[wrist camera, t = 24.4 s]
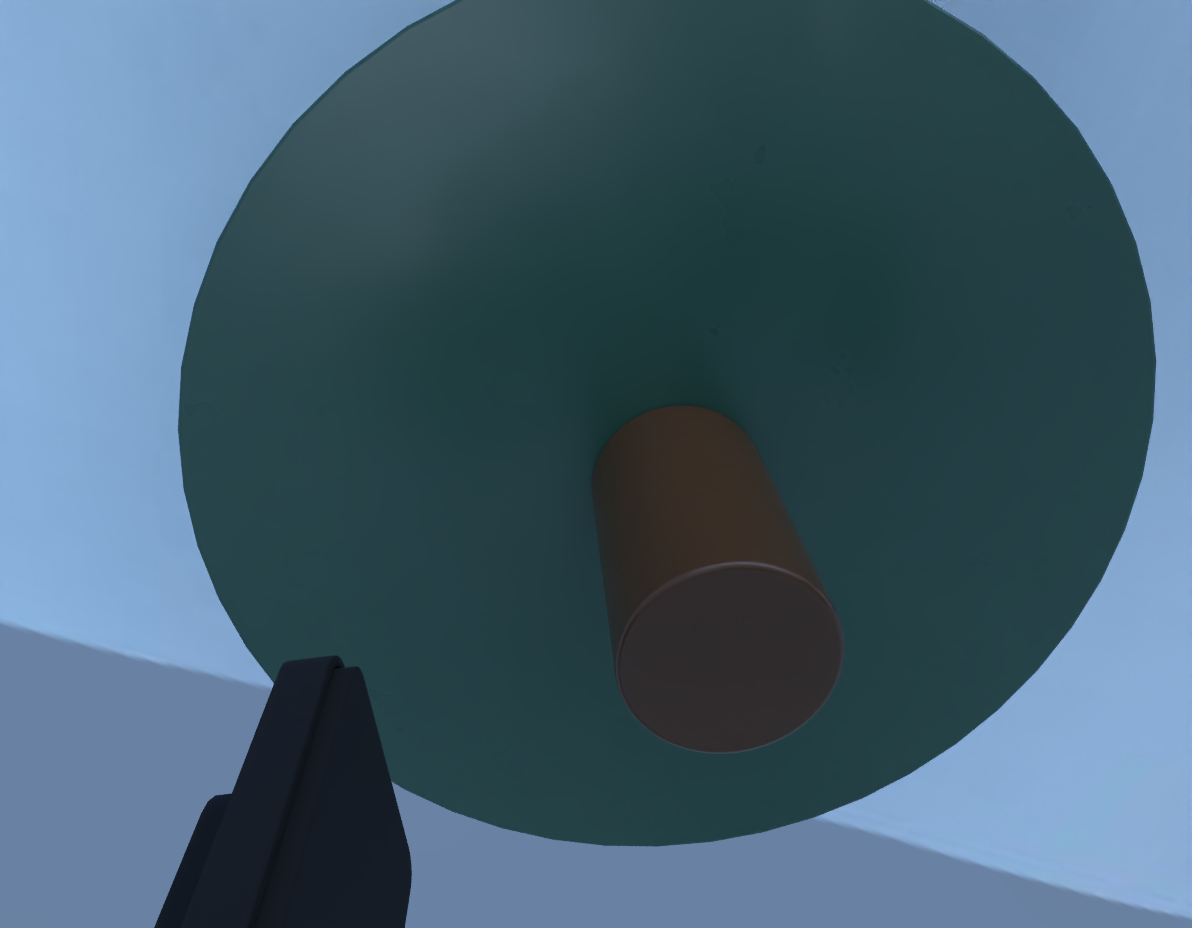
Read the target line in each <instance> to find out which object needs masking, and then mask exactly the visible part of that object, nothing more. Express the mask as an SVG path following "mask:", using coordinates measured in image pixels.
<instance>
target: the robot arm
mask: <svg viewBox="0 0 1192 928" xmlns="http://www.w3.org/2000/svg"><path fill="white" fill-rule="evenodd" d="M411 875H412V871H411V858H410V852H409V847H408V843H407V839H406V836H405V832H404V828H403V825H402V820H401V817H400V813H399V809H398V806H397V801H396V797H395V794H394V790H393V786H392V782H391V778H390V775H389V771H388V767H387V763H386V759H385V756H384V752H383V748H382V744H381V740H380V737H379V733H378V729H377V725H376V721H375V718H374V714H373V710H372V706H371V702H370V699H369V695H368V691H367V687H366V683H365V680H364V676H363V673H362V671H361V669H360V668H359V667H357V666H356V667H347V668H345V666H344V663H343V661H342V659H341V658H340V657H339V656H337V655H333V656H325V657H316V658H308V659H300V660H291V661H286V662H284V663H283V664H282V666H281V668H280V670H279V672H278V675H277V678H276V680H275V683H274V685H273V688H272V691H271V693H270V696H269V698H268V702H267V704H266V706H265V709H264V711H263V714H262V717H261V719H260V722H259V724H258V727H257V730H256V732H255V735H254V738H253V740H252V743H251V745H250V748H249V751H248V753H247V756H246V758H245V761H244V764H243V766H242V769H241V771H240V774H239V777H238V779H237V782H236V785H235V787H234V790H233V792H232V794H224V795H216V796H214V797H213V798H212V799H210V800H209V801H208V802H207V804H206V806H205V808H204V809H203V811H202V813H201V815H200V818H199V820H198V823H197V825H196V827H195V830H194V832H193V835H192V837H191V840H190V842H189V844H188V847H187V849H186V852H185V854H184V857H183V859H182V862H181V864H180V867H179V869H178V871H177V874H176V876H175V879H174V881H173V884H172V886H171V888H170V891H169V893H168V896H167V898H166V900H165V903H164V905H163V908H162V910H161V913H160V915H159V917H158V920H157V922H156V925H155V927H154V928H405V922H406V915H407V909H408V903H409V895H410V889H411Z"/></svg>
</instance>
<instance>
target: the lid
mask: <svg viewBox="0 0 1192 928" xmlns="http://www.w3.org/2000/svg"><path fill="white" fill-rule="evenodd" d="M1155 372H1156V355H1155V344H1154V334H1153V323H1152V313H1151V302H1150V298H1149V294H1148V290H1147V285H1146V281H1145V277H1144V273H1143V269H1142V265H1141V261H1140V257H1139V253H1138V249H1137V245H1136V241H1135V239H1134V236H1133V234H1132V232H1131V229H1130V227H1129V224H1128V222H1127V220H1126V217H1125V215H1124V212H1123V210H1122V208H1121V205H1120V203H1119V200H1118V198H1117V196H1116V193H1115V191H1114V188H1113V186H1112V184H1111V182H1110V180H1109V179H1108V177H1107V175H1106V174H1105V172H1104V171H1103V169H1102V167H1101V166H1100V164H1099V162H1098V161H1097V159H1096V158H1095V156H1094V154H1093V153H1092V151H1091V149H1090V148H1089V146H1088V144H1087V143H1086V141H1085V140H1084V138H1083V136H1082V135H1081V133H1080V131H1079V130H1078V128H1077V127H1076V126H1075V125H1074V124H1073V122H1072V121H1071V120H1070V119H1069V118H1068V117H1067V115H1066V114H1065V113H1064V112H1063V111H1062V110H1061V108H1060V107H1059V106H1058V105H1057V104H1056V103H1055V101H1054V100H1053V99H1052V98H1051V97H1050V96H1049V94H1048V93H1047V92H1046V91H1045V90H1044V89H1043V87H1042V86H1041V85H1040V84H1039V83H1038V82H1037V80H1036V79H1035V78H1034V77H1033V76H1032V75H1030V74H1029V73H1028V72H1027V71H1026V70H1024V69H1023V68H1022V67H1021V66H1020V65H1019V64H1017V63H1016V62H1015V61H1014V60H1013V59H1012V58H1010V57H1009V56H1008V55H1007V54H1006V53H1005V52H1003V51H1002V50H1001V49H1000V48H999V47H997V46H996V45H995V44H994V43H993V42H992V41H990V40H989V39H988V38H987V37H986V36H985V35H983V34H982V33H981V32H979V31H977V30H976V29H974V28H972V27H971V26H969V25H968V24H966V23H964V22H963V21H961V20H959V19H958V18H956V17H954V16H953V15H951V14H950V13H948V12H946V11H945V10H943V9H941V8H940V7H938V6H936V5H935V4H933V3H931V2H930V1H928V0H455V1H454V2H452V3H450V4H448V5H446V6H444V7H442V8H441V9H439V10H437V11H435V12H433V13H431V14H429V15H427V16H426V17H424V18H422V19H420V20H418V21H416V22H414V23H412V24H411V25H409V26H407V27H406V28H404V29H403V30H401V31H400V32H399V33H397V34H396V35H395V36H393V37H392V38H391V39H389V40H388V41H386V42H385V43H384V44H382V45H381V46H380V47H378V48H377V49H376V50H374V51H373V52H372V53H370V54H369V55H367V56H366V57H365V58H363V59H362V60H361V61H359V62H358V63H357V64H355V65H354V66H353V67H351V68H350V69H348V70H347V71H346V72H345V73H344V74H343V75H342V76H341V77H340V78H339V79H338V80H337V81H336V82H335V83H334V84H333V85H332V86H331V87H330V88H329V89H328V90H327V91H326V92H325V93H324V94H322V95H321V96H320V97H319V98H318V99H317V100H316V101H315V102H314V103H313V104H312V105H311V106H310V107H309V108H308V109H307V110H306V111H305V112H304V113H303V114H302V115H301V116H300V117H299V118H298V119H297V120H296V121H295V122H294V123H293V124H292V126H291V127H290V128H289V130H288V131H287V132H286V134H285V135H284V136H283V138H282V139H281V140H280V142H279V143H278V144H277V146H276V147H275V148H274V150H273V151H272V152H271V154H270V155H269V156H268V158H267V159H266V160H265V162H264V163H263V164H262V166H261V167H260V168H259V170H258V171H257V172H256V174H255V175H254V176H253V177H252V179H251V180H250V182H249V184H248V186H247V187H246V189H245V191H244V193H243V195H242V197H241V198H240V200H239V202H238V204H237V206H236V208H235V209H234V211H233V213H232V215H231V217H230V219H229V220H228V222H227V224H226V226H225V228H224V230H223V231H222V233H221V235H220V237H219V239H218V241H217V243H216V246H215V248H214V251H213V254H212V257H211V259H210V262H209V265H208V268H207V270H206V273H205V276H204V279H203V281H202V284H201V287H200V289H199V292H198V295H197V298H196V300H195V303H194V307H193V312H192V317H191V322H190V327H189V332H188V337H187V342H186V346H185V351H184V356H183V361H182V366H181V382H180V401H179V420H178V434H179V445H180V455H181V466H182V476H183V487H184V492H185V496H186V500H187V504H188V509H189V513H190V517H191V521H192V525H193V529H194V533H195V537H196V541H197V545H198V548H199V551H200V553H201V556H202V558H203V561H204V563H205V566H206V568H207V571H208V573H209V576H210V578H211V581H212V583H213V586H214V588H215V591H216V593H217V595H218V598H219V600H220V602H221V604H222V605H223V607H224V609H225V611H226V612H227V614H228V616H229V618H230V619H231V621H232V623H233V625H234V626H235V628H236V630H237V632H238V633H239V635H240V637H241V638H242V640H243V642H244V644H245V645H246V647H247V649H248V650H249V651H250V652H251V654H252V655H253V656H254V658H255V659H256V660H257V662H258V663H259V664H260V666H261V667H262V668H263V669H264V671H265V672H266V673H267V675H268V676H269V677H270V679H271V680H272V681H273V683H275V680H276V678H277V675H278V672H279V670H280V668H281V666H282V664H283V663H284V662H286V661H291V660H300V659H308V658H316V657H325V656H333V655H337V656H339V657H340V658H341V659H342V661H343V663H344V666H345V668H347V667H356V666H357V667H359V668H360V669H361V671H362V673H363V676H364V680H365V683H366V687H367V691H368V695H369V699H370V702H371V706H372V710H373V714H374V718H375V721H376V725H377V729H378V733H379V737H380V740H381V744H382V748H383V752H384V756H385V759H386V763H387V767H388V771H389V775H390V778H391V781H392V782H393V783H395V784H397V785H398V786H400V787H402V788H404V789H405V790H407V791H410V792H411V793H414V794H416V795H418V796H420V797H422V798H425V799H427V800H429V801H431V802H433V803H435V804H437V805H440V806H442V807H444V808H446V809H448V810H451V811H453V812H455V813H458V814H462V815H464V816H467V817H471V818H473V819H476V820H479V821H482V822H485V823H488V824H491V825H494V826H497V827H500V828H504V829H508V830H512V831H517V832H521V833H527V834H531V835H535V836H540V837H544V838H549V839H553V840H562V841H570V842H579V843H587V844H596V845H605V846H668V845H679V844H691V843H703V842H713V841H718V840H724V839H729V838H734V837H740V836H745V835H750V834H756V833H761V832H765V831H769V830H772V829H776V828H779V827H782V826H786V825H789V824H793V823H797V822H800V821H803V820H807V819H810V818H814V817H816V816H819V815H821V814H824V813H826V812H829V811H831V810H834V809H836V808H839V807H841V806H844V805H846V804H849V803H852V802H854V801H857V800H859V799H862V798H864V797H866V796H868V795H870V794H872V793H874V792H875V791H877V790H879V789H881V788H883V787H885V786H887V785H889V784H891V783H893V782H895V781H897V780H899V779H901V778H903V777H905V776H906V775H908V774H910V773H912V772H913V771H915V770H917V769H918V768H920V767H921V766H923V765H924V764H926V763H927V762H929V761H930V760H932V759H933V758H935V757H936V756H938V755H940V754H941V753H943V752H944V751H946V750H947V749H949V748H950V747H952V746H953V745H955V744H956V743H958V742H959V741H960V740H961V739H963V738H964V737H965V736H966V735H967V734H969V733H970V732H971V731H972V730H974V729H975V728H976V727H977V726H979V725H980V724H981V723H982V722H984V721H985V720H986V719H987V718H988V717H990V716H991V715H992V714H993V713H995V712H996V711H997V710H998V709H999V708H1000V707H1001V706H1002V705H1003V704H1004V703H1005V702H1006V701H1007V700H1008V699H1009V698H1010V697H1011V696H1012V695H1013V694H1014V693H1015V692H1016V691H1017V690H1018V689H1019V688H1020V687H1021V686H1022V685H1023V684H1024V683H1025V682H1026V681H1027V680H1028V679H1029V678H1030V677H1031V676H1032V675H1033V674H1034V673H1035V672H1036V671H1037V670H1038V669H1039V668H1040V666H1041V665H1042V664H1043V663H1044V661H1045V660H1046V659H1047V658H1048V656H1049V655H1050V654H1051V653H1052V651H1053V650H1054V649H1055V648H1056V646H1057V645H1058V644H1059V643H1060V641H1061V640H1062V639H1063V638H1064V636H1065V635H1066V634H1067V633H1068V631H1069V630H1070V629H1071V628H1072V626H1073V624H1074V623H1075V621H1076V620H1077V618H1078V616H1079V615H1080V613H1081V612H1082V610H1083V608H1084V607H1085V605H1086V604H1087V602H1088V600H1089V599H1090V597H1091V596H1092V594H1093V592H1094V591H1095V589H1096V588H1097V586H1098V585H1099V583H1100V581H1101V579H1102V577H1103V575H1104V573H1105V571H1106V569H1107V567H1108V565H1109V562H1110V560H1111V558H1112V556H1113V554H1114V552H1115V550H1116V548H1117V546H1118V543H1119V541H1120V539H1121V537H1122V535H1123V533H1124V531H1125V528H1126V525H1127V522H1128V519H1129V516H1130V513H1131V510H1132V507H1133V504H1134V501H1135V498H1136V494H1137V491H1138V488H1139V485H1140V482H1141V479H1142V476H1143V471H1144V466H1145V460H1146V455H1147V450H1148V444H1149V439H1150V434H1151V428H1152V423H1153V413H1154V393H1155Z"/></svg>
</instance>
